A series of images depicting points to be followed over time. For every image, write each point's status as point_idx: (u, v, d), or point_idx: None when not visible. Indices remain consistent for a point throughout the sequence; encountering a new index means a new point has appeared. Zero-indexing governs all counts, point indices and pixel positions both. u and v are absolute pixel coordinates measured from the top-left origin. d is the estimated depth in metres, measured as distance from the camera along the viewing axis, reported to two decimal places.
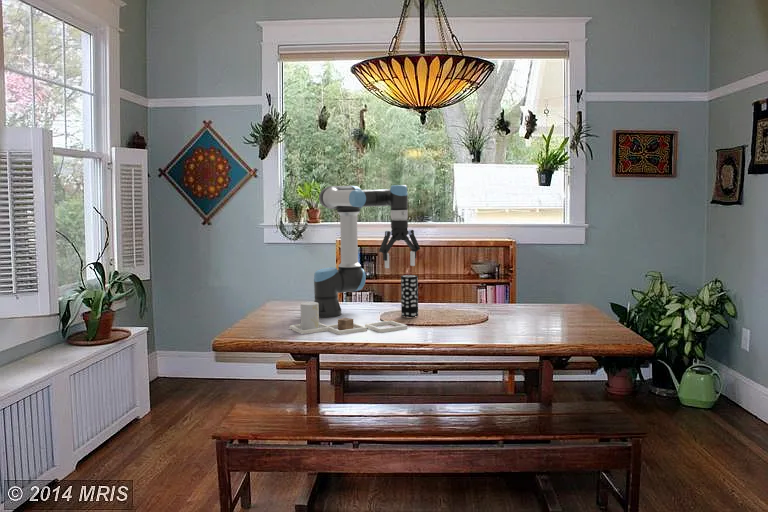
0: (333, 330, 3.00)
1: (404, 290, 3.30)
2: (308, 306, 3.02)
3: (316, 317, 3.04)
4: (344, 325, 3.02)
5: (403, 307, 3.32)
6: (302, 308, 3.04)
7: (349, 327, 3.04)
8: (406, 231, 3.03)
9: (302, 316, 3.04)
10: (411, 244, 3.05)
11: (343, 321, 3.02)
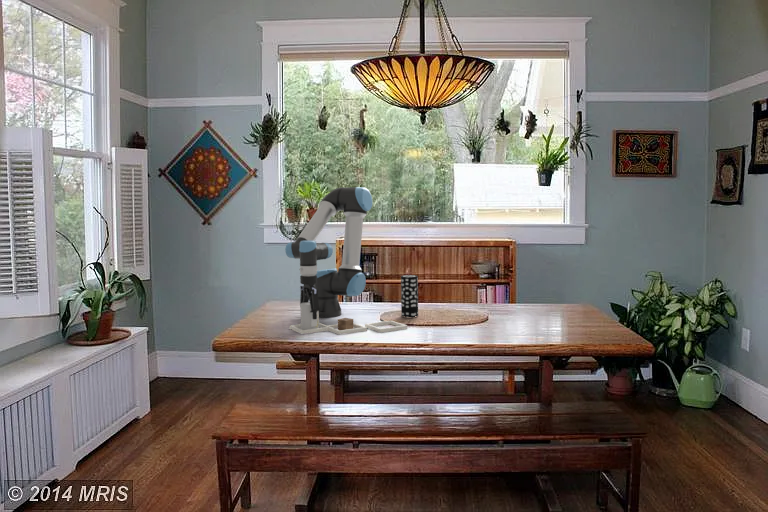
0: (333, 330, 3.00)
1: (404, 290, 3.30)
2: (308, 306, 3.02)
3: None
4: (344, 325, 3.02)
5: (403, 307, 3.32)
6: (302, 308, 3.04)
7: (349, 327, 3.04)
8: (309, 287, 3.02)
9: (302, 316, 3.04)
10: (310, 303, 3.02)
11: (343, 321, 3.02)
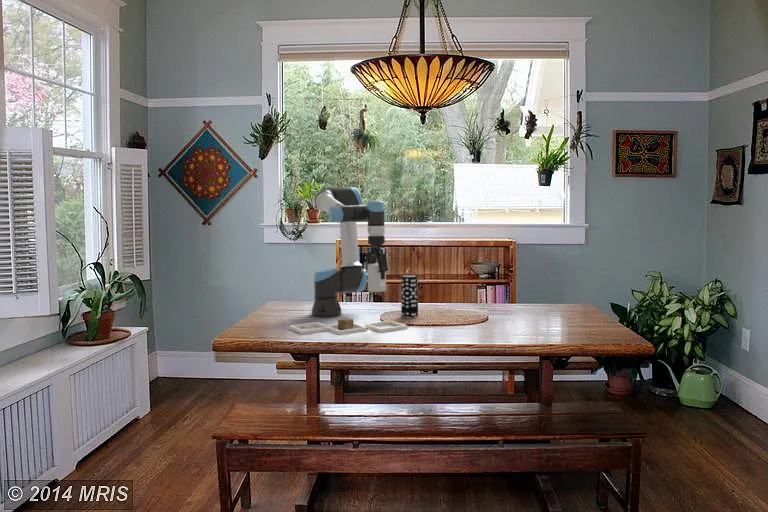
0: (333, 330, 3.00)
1: (404, 290, 3.30)
2: (376, 266, 3.01)
3: None
4: (344, 325, 3.02)
5: (403, 307, 3.32)
6: (370, 268, 3.02)
7: (349, 327, 3.04)
8: (377, 247, 3.01)
9: (369, 276, 3.03)
10: (378, 263, 3.01)
11: (343, 321, 3.02)
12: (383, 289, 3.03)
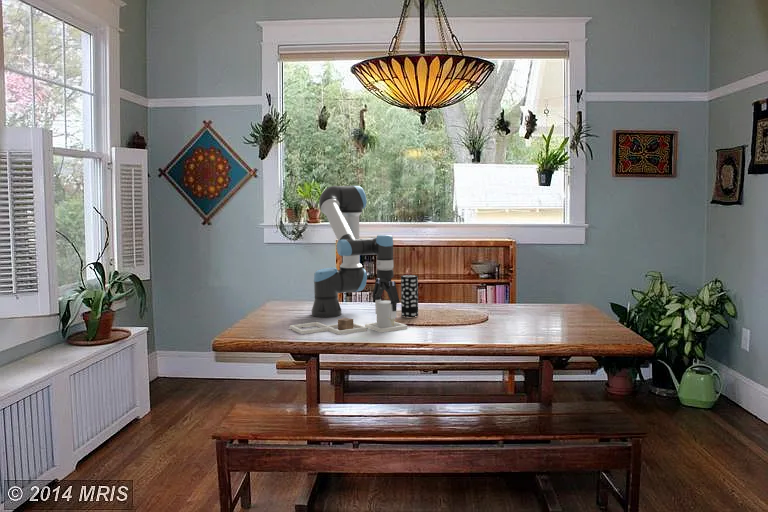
0: (333, 330, 3.00)
1: (404, 290, 3.30)
2: (385, 304, 3.03)
3: None
4: (344, 325, 3.02)
5: (403, 307, 3.32)
6: (379, 306, 3.04)
7: (349, 327, 3.04)
8: (386, 281, 3.03)
9: (378, 314, 3.05)
10: (389, 296, 3.01)
11: (343, 321, 3.02)
12: None
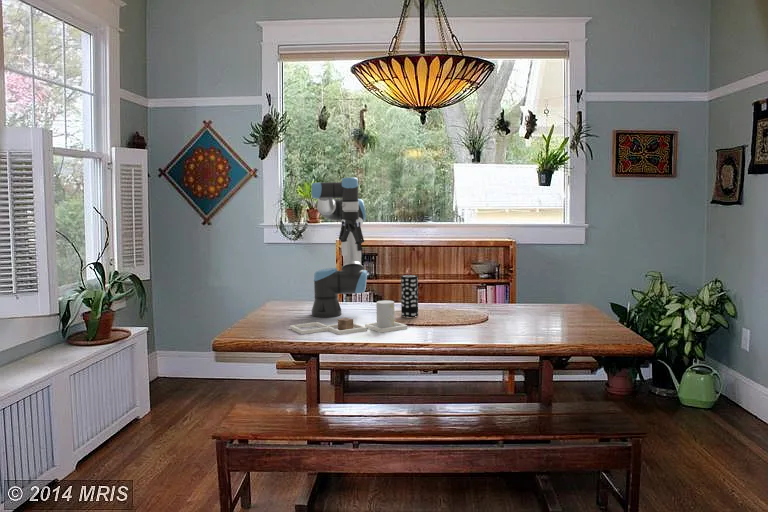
0: (333, 330, 3.00)
1: (404, 290, 3.30)
2: (385, 304, 3.03)
3: (392, 315, 3.05)
4: (344, 325, 3.02)
5: (403, 307, 3.32)
6: (379, 306, 3.04)
7: (349, 327, 3.04)
8: (351, 223, 3.11)
9: (378, 314, 3.05)
10: (354, 236, 3.09)
11: (343, 321, 3.02)
12: None
